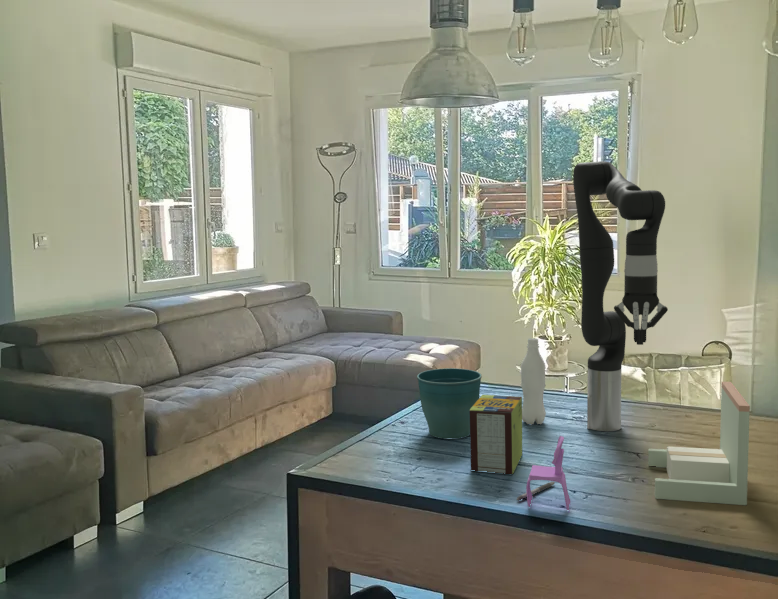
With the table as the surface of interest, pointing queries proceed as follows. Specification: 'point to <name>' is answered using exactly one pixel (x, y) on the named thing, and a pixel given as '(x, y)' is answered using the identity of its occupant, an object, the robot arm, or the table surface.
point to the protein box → (496, 433)
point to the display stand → (733, 447)
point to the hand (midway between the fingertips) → (640, 344)
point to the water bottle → (533, 384)
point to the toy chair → (550, 473)
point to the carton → (697, 464)
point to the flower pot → (448, 400)
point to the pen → (536, 490)
